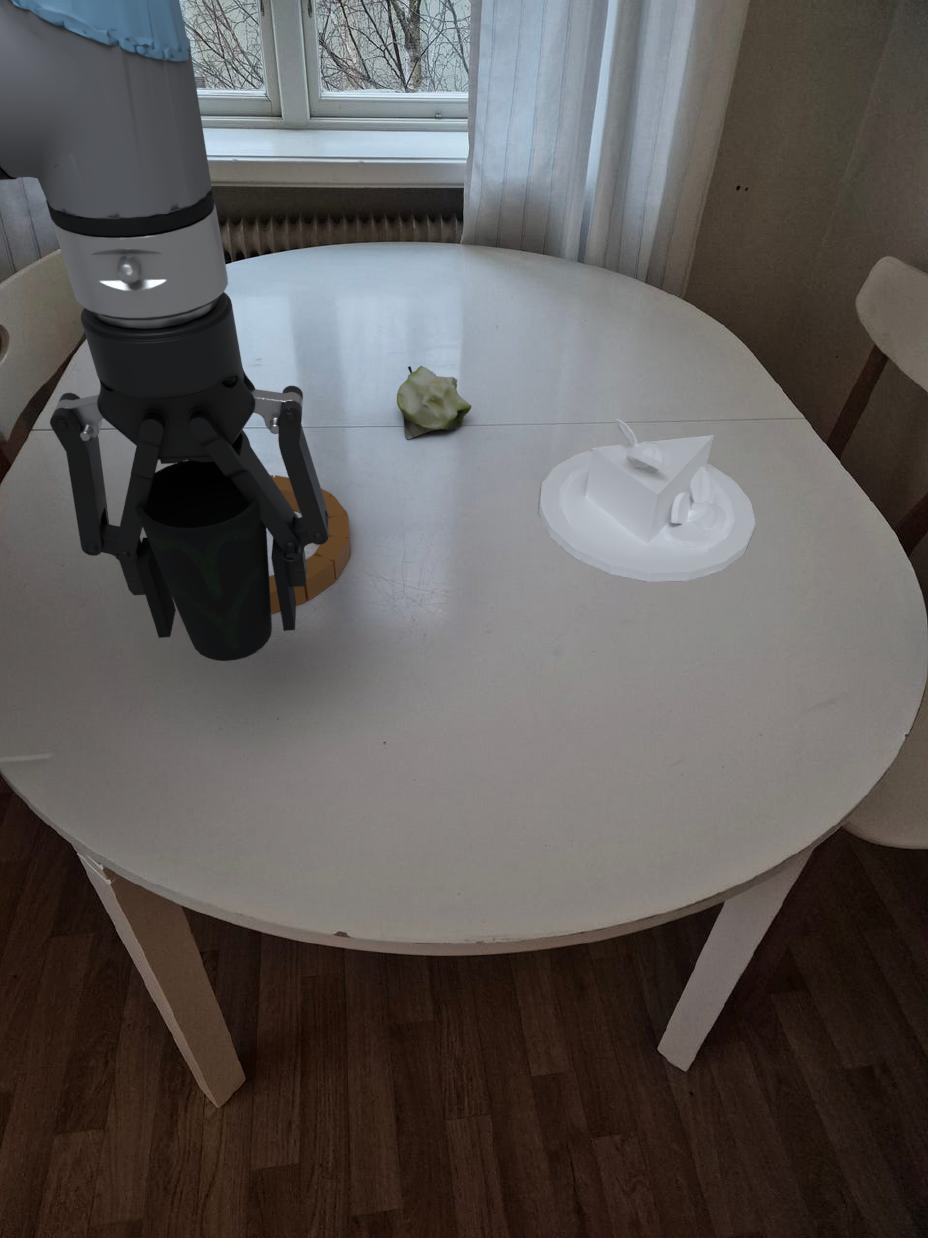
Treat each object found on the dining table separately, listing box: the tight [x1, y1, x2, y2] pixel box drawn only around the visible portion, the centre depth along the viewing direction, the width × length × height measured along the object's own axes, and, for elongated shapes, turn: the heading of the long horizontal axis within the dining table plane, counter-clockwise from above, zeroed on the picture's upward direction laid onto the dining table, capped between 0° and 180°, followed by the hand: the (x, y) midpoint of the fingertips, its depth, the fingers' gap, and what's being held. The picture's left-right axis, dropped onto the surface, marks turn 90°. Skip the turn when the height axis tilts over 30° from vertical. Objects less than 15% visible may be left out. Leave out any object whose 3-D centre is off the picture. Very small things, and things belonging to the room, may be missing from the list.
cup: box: [135, 460, 273, 662], centre depth 56 cm, size 8×8×12 cm
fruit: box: [396, 365, 472, 441], centre depth 113 cm, size 9×9×8 cm
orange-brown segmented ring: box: [269, 474, 352, 615], centre depth 94 cm, size 21×21×3 cm
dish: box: [538, 418, 756, 583], centre depth 97 cm, size 25×25×11 cm
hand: (229, 620), depth 60 cm, fingers closed on cup, 8 cm apart
